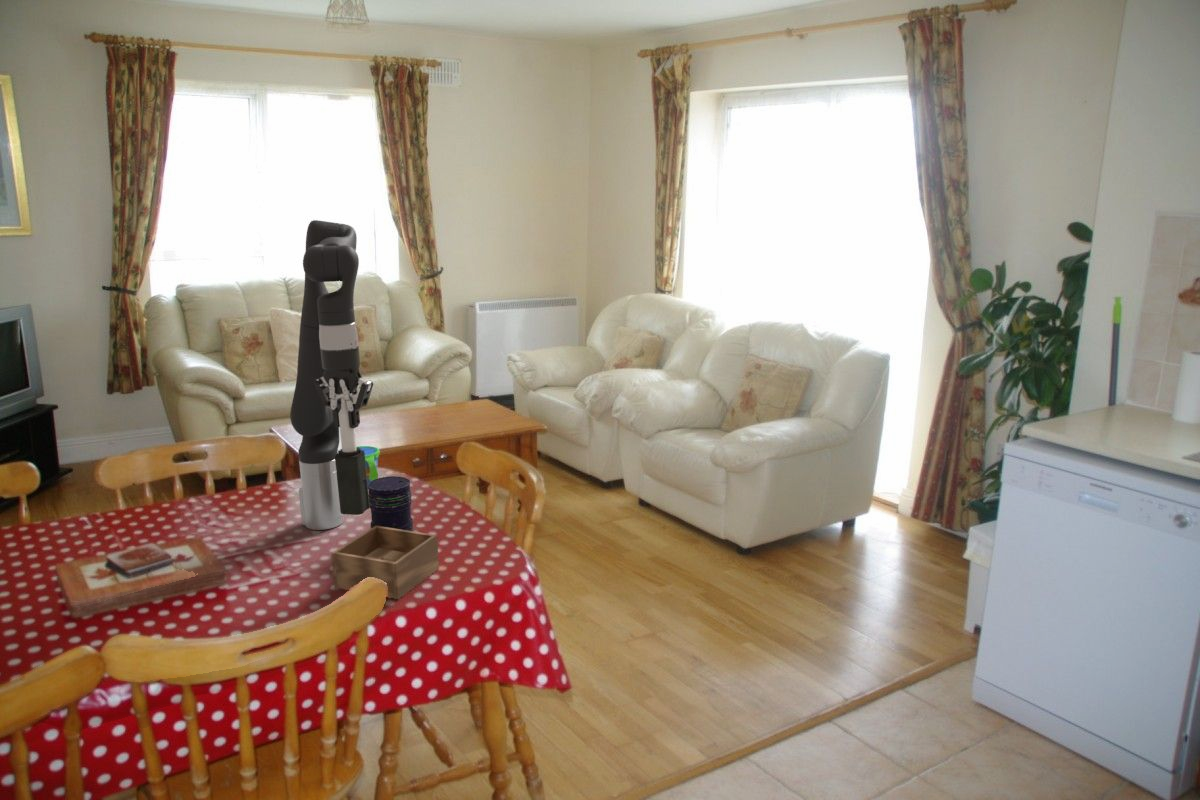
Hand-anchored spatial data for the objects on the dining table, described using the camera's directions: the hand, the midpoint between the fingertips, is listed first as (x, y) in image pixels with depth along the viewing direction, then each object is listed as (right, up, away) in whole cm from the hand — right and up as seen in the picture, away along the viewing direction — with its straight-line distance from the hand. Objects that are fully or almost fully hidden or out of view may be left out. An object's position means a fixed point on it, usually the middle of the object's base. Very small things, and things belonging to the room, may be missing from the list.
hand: (347, 426), depth 187 cm
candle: (0, -18, +5) cm, 19 cm away
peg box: (+6, -33, +9) cm, 35 cm away
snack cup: (-14, -19, +67) cm, 71 cm away
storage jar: (+3, -29, +28) cm, 40 cm away
